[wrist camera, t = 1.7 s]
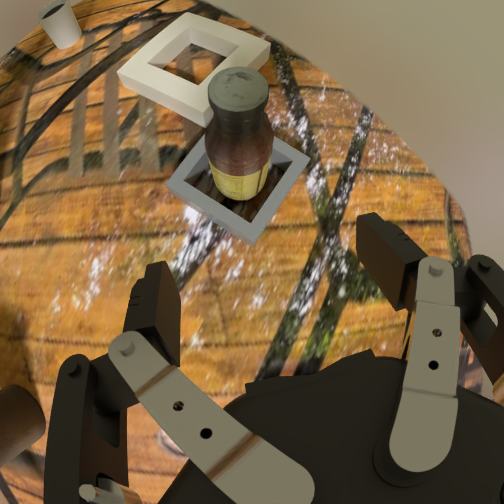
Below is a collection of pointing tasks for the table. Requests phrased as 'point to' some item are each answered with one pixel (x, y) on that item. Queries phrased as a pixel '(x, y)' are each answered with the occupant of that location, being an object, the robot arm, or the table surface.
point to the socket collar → (174, 42)
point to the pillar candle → (18, 422)
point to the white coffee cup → (60, 23)
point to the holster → (245, 231)
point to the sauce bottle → (239, 132)
